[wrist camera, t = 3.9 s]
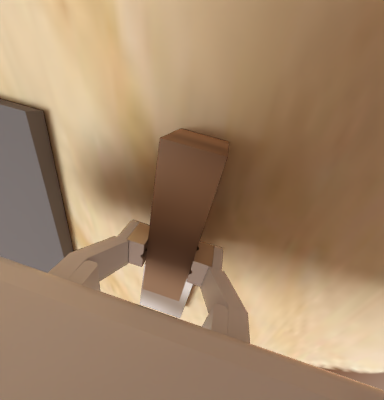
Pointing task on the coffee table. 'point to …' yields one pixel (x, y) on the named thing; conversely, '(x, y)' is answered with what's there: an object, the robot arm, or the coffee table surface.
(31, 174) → the rubber mat
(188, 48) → the coffee table surface
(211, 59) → the coffee table surface
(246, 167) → the coffee table surface
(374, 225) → the coffee table surface
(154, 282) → the brown handled tool
